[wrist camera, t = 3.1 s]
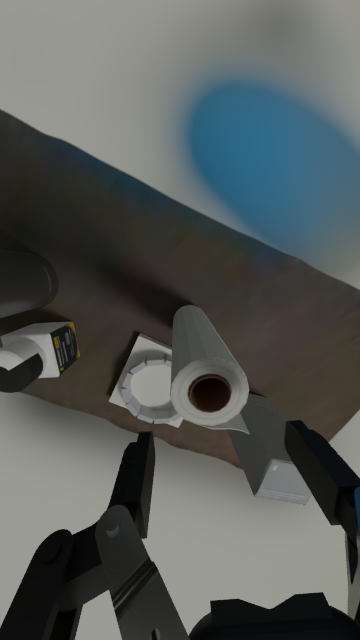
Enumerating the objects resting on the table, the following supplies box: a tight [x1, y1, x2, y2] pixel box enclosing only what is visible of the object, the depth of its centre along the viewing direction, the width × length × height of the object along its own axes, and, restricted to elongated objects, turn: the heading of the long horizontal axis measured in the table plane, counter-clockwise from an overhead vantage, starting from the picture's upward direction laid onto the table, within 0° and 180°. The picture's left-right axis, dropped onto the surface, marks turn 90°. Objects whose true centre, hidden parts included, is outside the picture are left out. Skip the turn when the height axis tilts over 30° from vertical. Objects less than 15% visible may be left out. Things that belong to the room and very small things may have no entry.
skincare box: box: [227, 393, 312, 505], centre depth 32 cm, size 8×7×16 cm
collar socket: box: [109, 333, 184, 427], centre depth 36 cm, size 15×15×4 cm
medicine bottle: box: [0, 322, 80, 393], centre depth 29 cm, size 7×7×12 cm
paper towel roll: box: [170, 305, 249, 434], centre depth 25 cm, size 7×6×21 cm
